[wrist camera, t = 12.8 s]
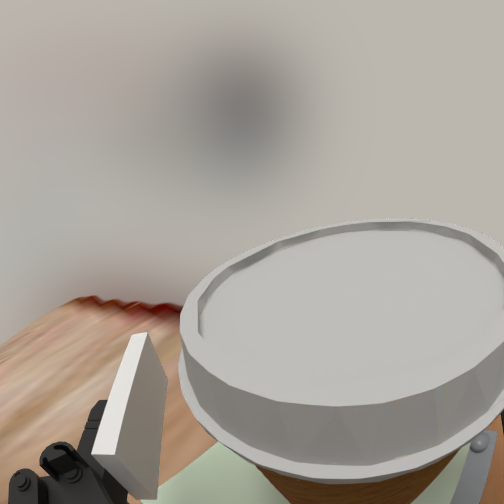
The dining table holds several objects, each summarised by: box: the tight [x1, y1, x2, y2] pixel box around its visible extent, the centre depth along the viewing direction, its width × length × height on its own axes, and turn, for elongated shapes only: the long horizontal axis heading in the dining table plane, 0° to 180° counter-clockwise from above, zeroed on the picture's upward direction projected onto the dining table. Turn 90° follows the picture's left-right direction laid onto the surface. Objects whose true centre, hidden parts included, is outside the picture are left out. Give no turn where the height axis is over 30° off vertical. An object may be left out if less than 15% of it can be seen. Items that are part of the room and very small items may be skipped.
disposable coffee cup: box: [178, 218, 504, 504], centre depth 9 cm, size 10×10×12 cm
